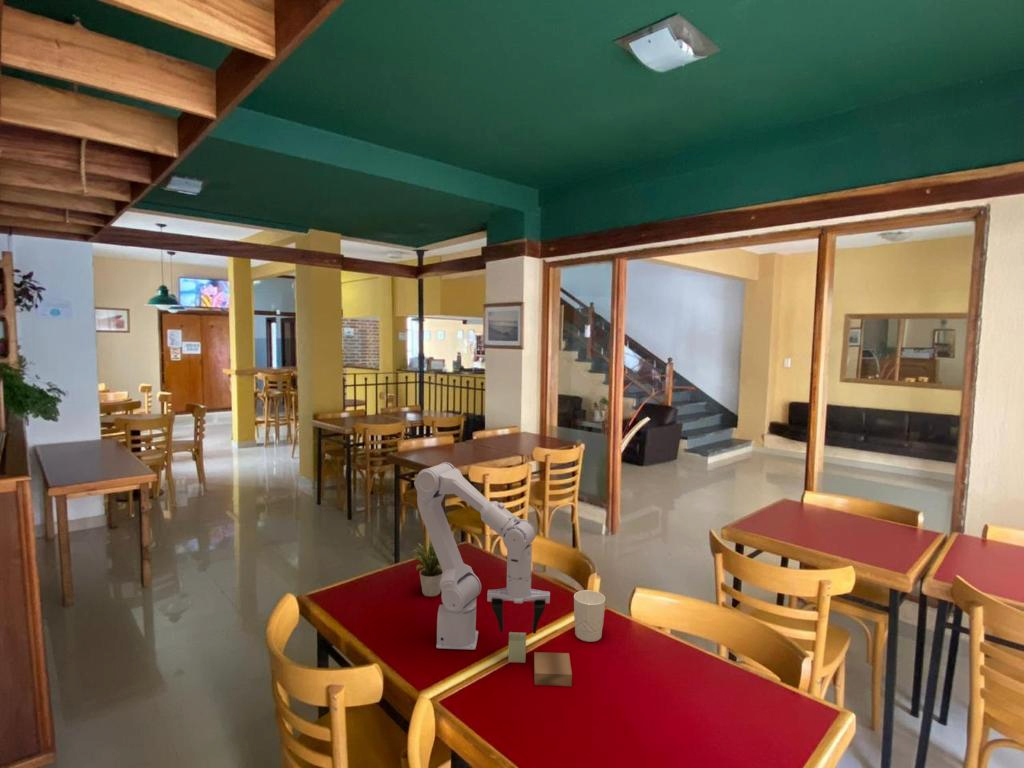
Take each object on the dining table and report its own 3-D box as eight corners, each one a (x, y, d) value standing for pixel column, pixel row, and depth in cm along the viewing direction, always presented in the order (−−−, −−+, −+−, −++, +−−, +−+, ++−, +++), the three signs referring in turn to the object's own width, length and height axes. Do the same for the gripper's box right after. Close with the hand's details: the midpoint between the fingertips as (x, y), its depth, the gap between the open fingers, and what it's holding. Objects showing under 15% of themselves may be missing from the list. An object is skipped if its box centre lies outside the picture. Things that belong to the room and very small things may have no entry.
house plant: (433, 610, 146) (434, 552, 145) (395, 598, 153) (396, 542, 152) (463, 590, 158) (464, 537, 157) (427, 580, 165) (427, 528, 164)
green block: (508, 662, 123) (508, 641, 123) (508, 652, 127) (509, 632, 127) (525, 662, 123) (525, 642, 123) (525, 652, 127) (525, 632, 127)
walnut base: (534, 686, 115) (534, 673, 115) (534, 664, 123) (534, 652, 123) (571, 687, 115) (571, 674, 115) (568, 665, 123) (568, 653, 123)
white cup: (603, 645, 131) (604, 606, 130) (571, 641, 133) (572, 602, 132) (604, 629, 139) (605, 591, 138) (574, 625, 140) (575, 588, 140)
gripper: (486, 580, 120) (485, 638, 121) (550, 582, 120) (549, 640, 120) (488, 567, 127) (488, 622, 128) (549, 569, 127) (548, 624, 127)
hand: (517, 630), depth 125 cm, fingers open, 7 cm apart
